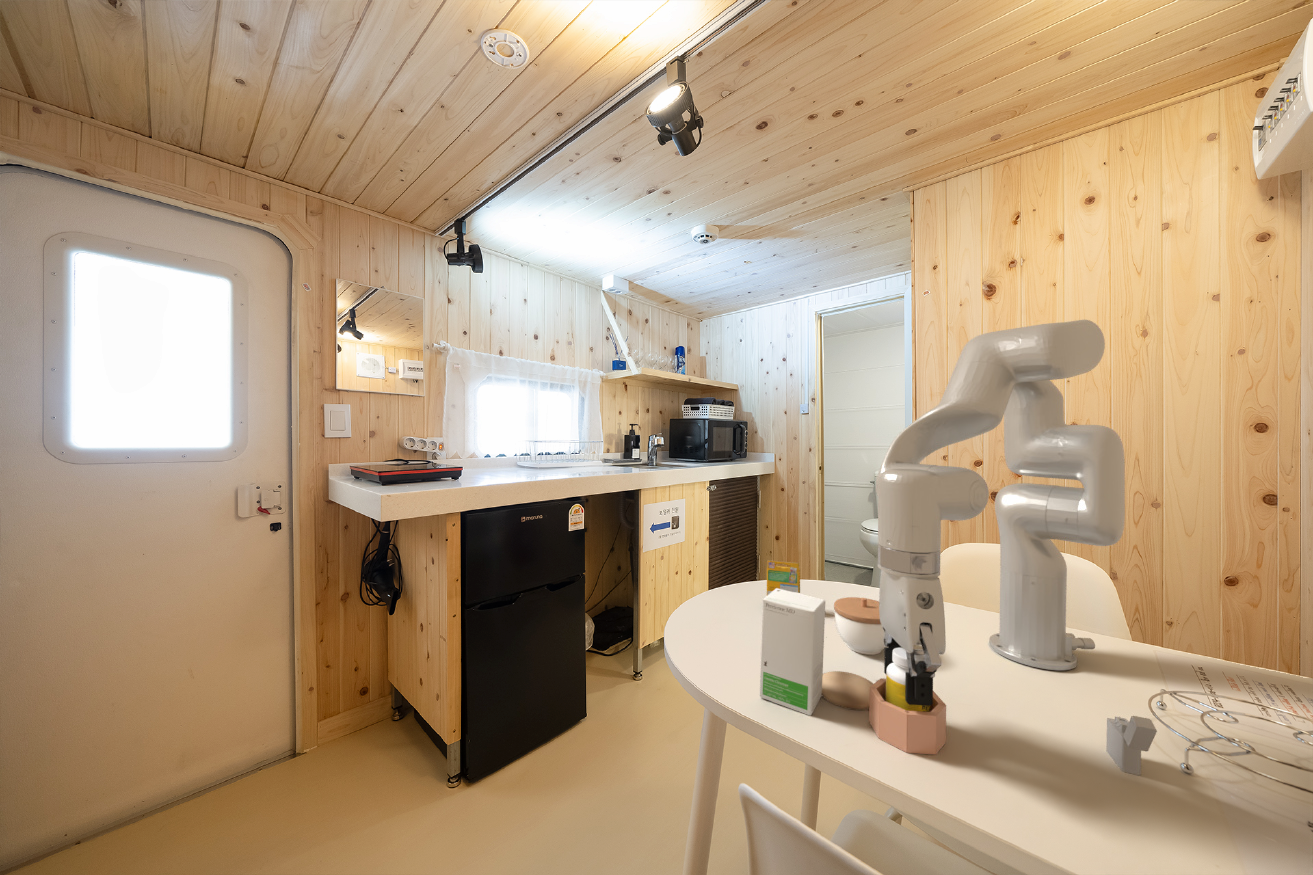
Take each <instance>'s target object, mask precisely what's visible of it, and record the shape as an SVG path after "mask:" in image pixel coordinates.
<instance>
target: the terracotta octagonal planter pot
mask: <svg viewBox="0 0 1313 875" xmlns="http://www.w3.org/2000/svg"><path fill="white" fill-rule="evenodd" d="M868 710H869V711H868V713H869V714H868V715H869V716H868V717H869V718H868V722H869V724H870V725H871V727H872V729H873V731H874V733H875V734H876V736H877V737H878V739H880V741H883V742H885V743H887V744H889V745H891V746H893V747H895V748H896V749H899V750H901V751H902V752H905V753H906V754H921V755H923V754H924V755H934V756H935V755H937V754H938V753H939V751H940V750H941V749H942V748H943V746H944V745H945V744H946V743H947V704H946V703H945V702H944V701H943V700H942V698H941V697H940V696H939V695H938V694H937V693H936V692H935V691H934V690H933V704H932V705H931V706H930V712H920V711H906V710H904V709H902V708H900V707H897V706H895V705H893V704H891V703H888V702H886V678H884V677H883V678H881V677H880V678H879V679H878V680H876V681H875V682H874V683H873V685H871V686H870V688H869V709H868Z"/></svg>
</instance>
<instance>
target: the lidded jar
mask: <svg viewBox="0 0 1313 875" xmlns="http://www.w3.org/2000/svg"><path fill="white" fill-rule="evenodd" d="M833 609H834V622H835V628H836V630H837V633H838V635H839V637H840V639H841V640H842V642H844V644H846V646H847V648H848V649H849V650H851V651H852V652H855V653H858V654H861V655H862V654H863V655H868V656H875V655H879V654H881V652H882V651H883V650H884V647H886V646H885V645H884V635H885V632H884V630H883V626H882V624H881V622H880V616H879V600H876V599H870V598H866V597H858V596H857V597H856V596H849V597H842V598H839V599H836V600H835V602H834V604H833Z"/></svg>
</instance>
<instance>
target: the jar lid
mask: <svg viewBox="0 0 1313 875" xmlns="http://www.w3.org/2000/svg"><path fill="white" fill-rule="evenodd" d="M873 684H874V683H873V682H872V681H870V680H869V679H868V678H865V677H863V676H861V675H859V674H856V673H852V672H847V671H840V670H839V671H838V670H837V671H834V670H833V671H827V672H823V677H822V696H821V697H823V698H824V699H825V700H826V701H827V702H829V703H832V704H833V705H836V706H839V707H840V708H844V709H849V710H854V711H859V710H860V711H863V710H865V711H866V710H869V688H870V686H871V685H873Z"/></svg>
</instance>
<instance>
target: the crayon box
mask: <svg viewBox="0 0 1313 875" xmlns="http://www.w3.org/2000/svg"><path fill="white" fill-rule="evenodd" d="M766 563H767V564H766V596H768V595H769V594H770V593H771V592H772V591H773V590H775V589H776V588H778V589H782V590H786V591H790V592H797V593H801V568H800V563H798V562H789V561H781V560H780V561H779V560H778V561H777V560H772V559H771V560H768V559H767V561H766ZM782 564H783V565H785V566H779V565H782Z"/></svg>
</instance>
